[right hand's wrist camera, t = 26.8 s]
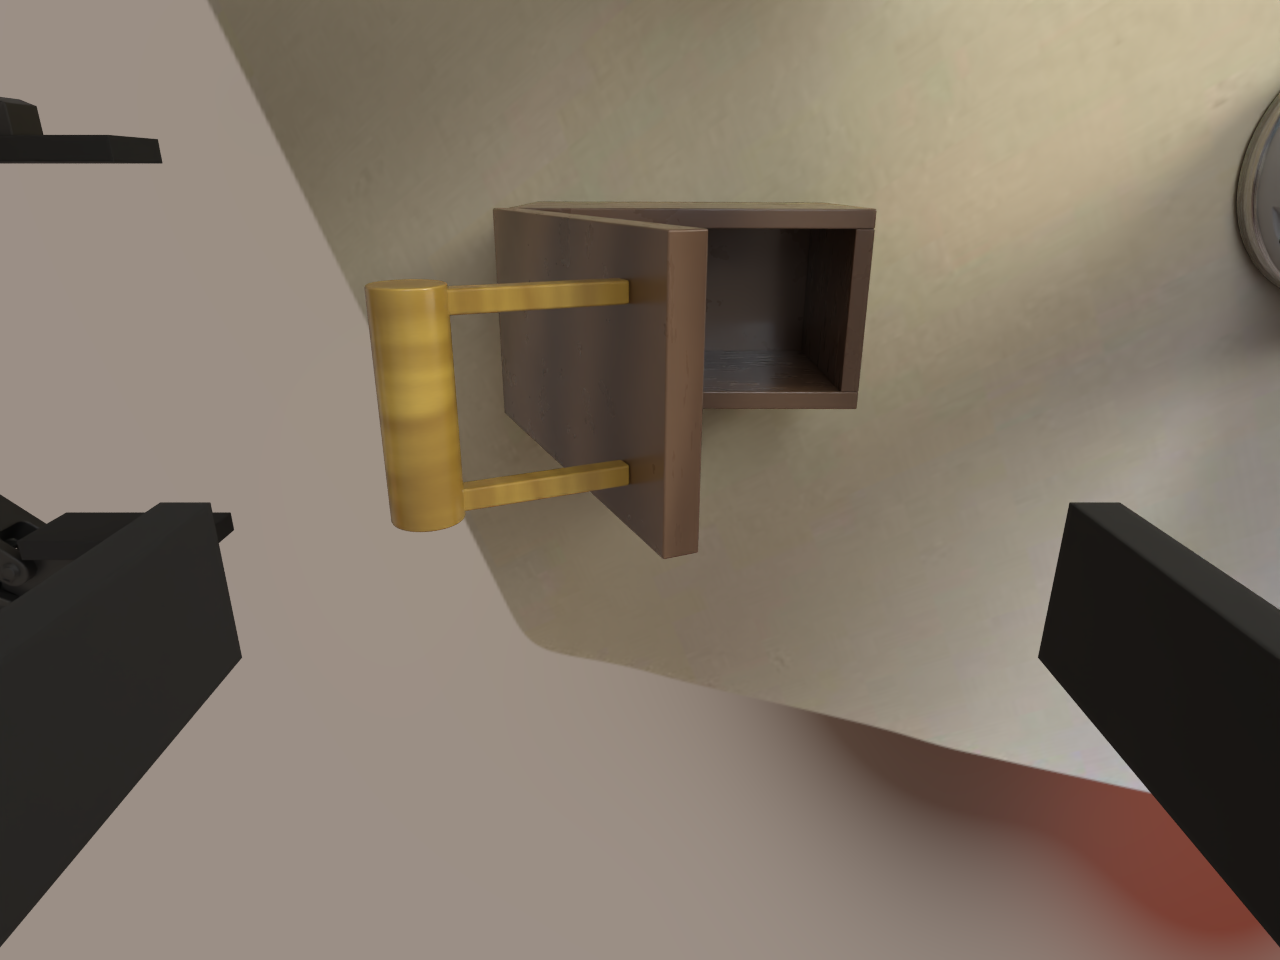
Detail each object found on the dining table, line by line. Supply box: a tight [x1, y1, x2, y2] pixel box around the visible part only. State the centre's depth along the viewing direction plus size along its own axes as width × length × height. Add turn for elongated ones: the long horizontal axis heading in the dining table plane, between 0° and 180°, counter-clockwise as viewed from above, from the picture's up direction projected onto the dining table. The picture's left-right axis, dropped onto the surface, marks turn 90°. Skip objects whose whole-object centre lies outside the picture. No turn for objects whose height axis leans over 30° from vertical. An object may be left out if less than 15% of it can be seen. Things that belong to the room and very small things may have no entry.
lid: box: [364, 208, 708, 559], centre depth 29 cm, size 18×10×8 cm
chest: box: [511, 202, 876, 409], centre depth 43 cm, size 17×10×11 cm, turn 90°
